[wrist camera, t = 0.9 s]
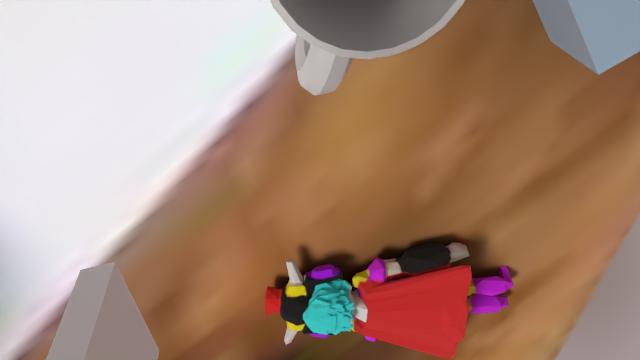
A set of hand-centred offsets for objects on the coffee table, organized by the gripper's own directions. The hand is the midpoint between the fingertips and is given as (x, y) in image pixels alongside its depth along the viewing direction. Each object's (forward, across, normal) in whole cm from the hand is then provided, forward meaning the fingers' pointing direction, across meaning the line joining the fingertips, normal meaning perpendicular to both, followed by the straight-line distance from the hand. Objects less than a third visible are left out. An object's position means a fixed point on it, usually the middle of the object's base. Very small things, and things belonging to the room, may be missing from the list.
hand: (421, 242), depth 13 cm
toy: (+18, 0, -17) cm, 25 cm away
